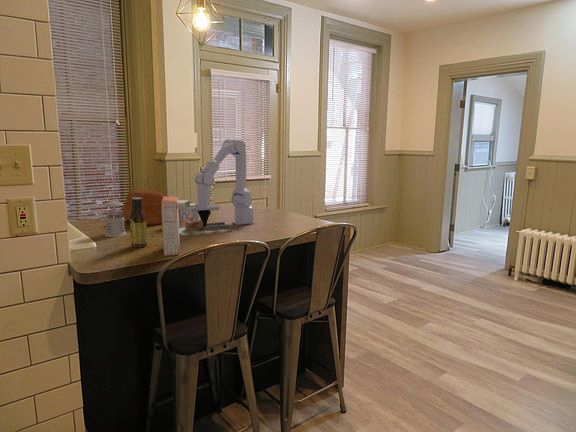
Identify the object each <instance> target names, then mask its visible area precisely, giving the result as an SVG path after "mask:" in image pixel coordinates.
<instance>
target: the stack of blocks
mask: <svg viewBox="0 0 576 432" xmlns="http://www.w3.org/2000/svg"><path fill="white" fill-rule="evenodd" d="M190 207H198V203H194V202H193V203H192V202H191V201H190V200H187V199H186V200H184V199H183V200H182V199H178V213H179V228H185V227H186V221H197V220H199V217H198V216H199V214H198V211H196V212H188V208H190Z"/></svg>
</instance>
